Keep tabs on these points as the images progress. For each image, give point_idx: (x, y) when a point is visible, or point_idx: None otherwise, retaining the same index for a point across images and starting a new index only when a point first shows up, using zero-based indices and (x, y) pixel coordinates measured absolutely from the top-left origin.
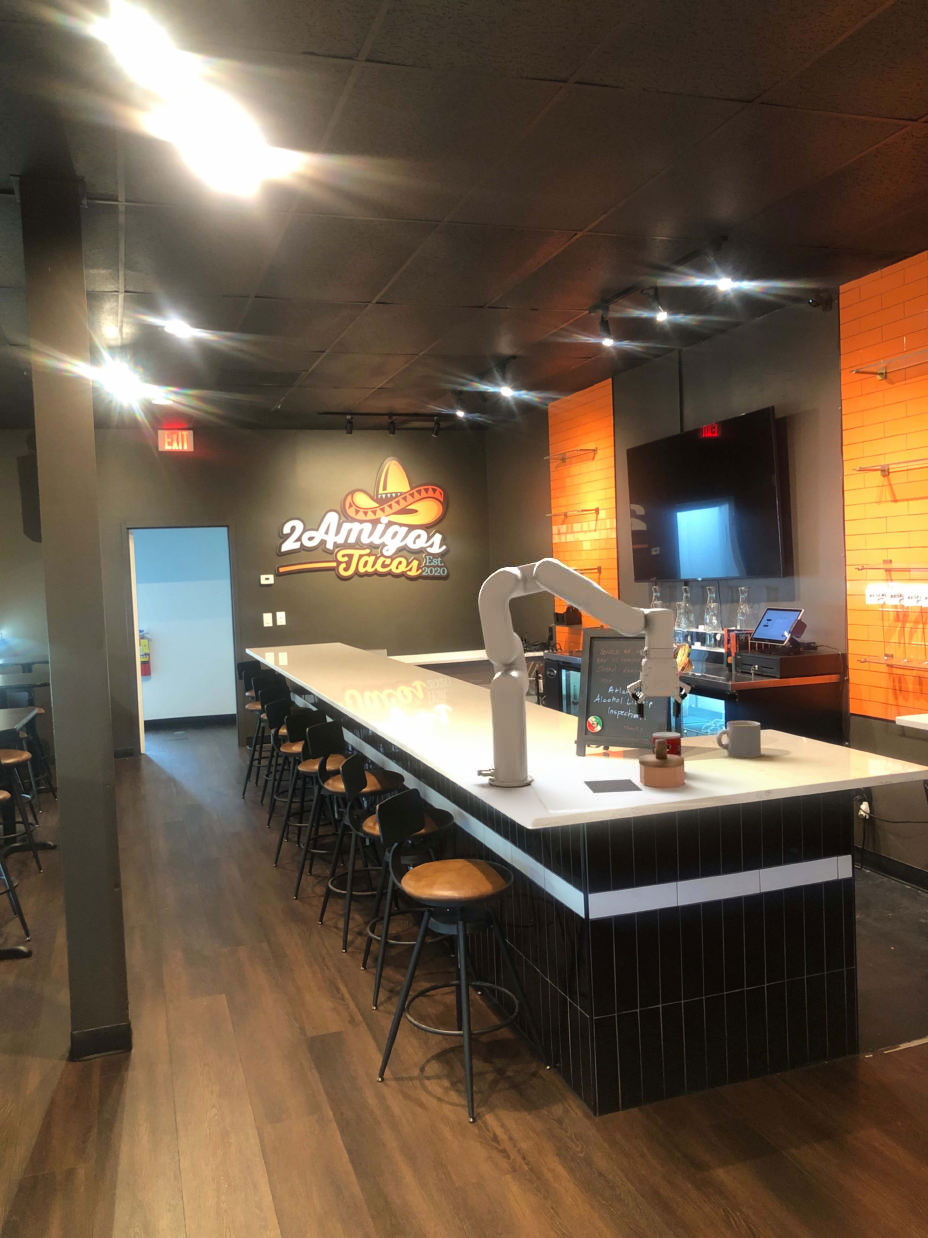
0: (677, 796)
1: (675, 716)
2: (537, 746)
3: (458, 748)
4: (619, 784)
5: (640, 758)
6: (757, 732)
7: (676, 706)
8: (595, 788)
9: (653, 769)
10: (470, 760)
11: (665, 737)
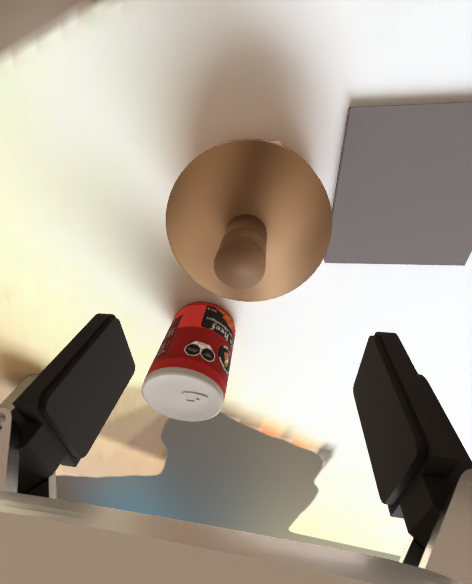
0: (248, 17)
1: (118, 329)
2: (368, 498)
3: None
4: (384, 208)
5: (320, 251)
6: None
7: (60, 381)
8: None
9: None
10: None
11: (192, 373)
